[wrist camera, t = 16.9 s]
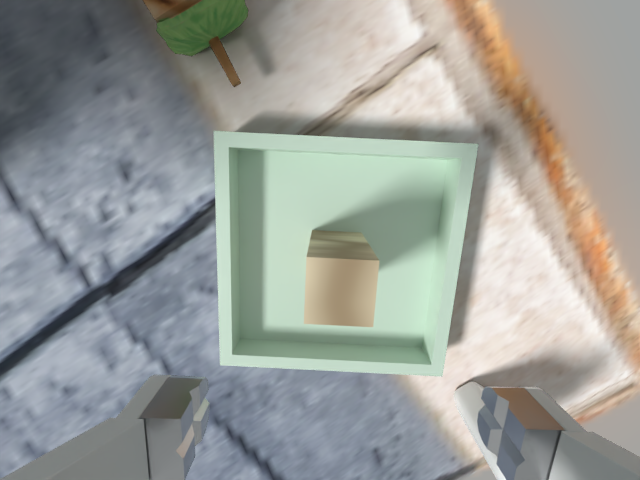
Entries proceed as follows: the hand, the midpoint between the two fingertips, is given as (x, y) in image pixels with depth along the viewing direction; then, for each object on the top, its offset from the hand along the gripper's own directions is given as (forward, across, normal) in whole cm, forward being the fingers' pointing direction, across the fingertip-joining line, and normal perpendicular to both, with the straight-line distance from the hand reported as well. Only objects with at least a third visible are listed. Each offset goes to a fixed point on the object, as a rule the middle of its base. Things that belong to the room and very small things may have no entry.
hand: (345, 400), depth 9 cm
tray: (+17, +1, 0) cm, 17 cm away
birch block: (+16, +1, 0) cm, 16 cm away
